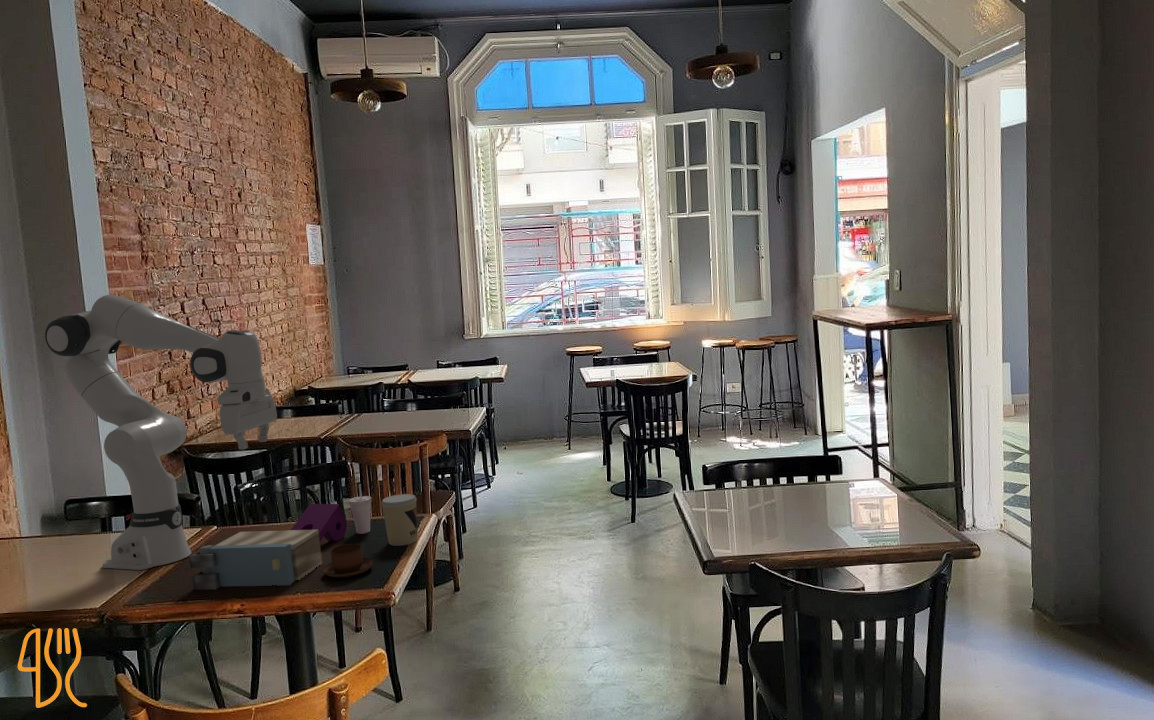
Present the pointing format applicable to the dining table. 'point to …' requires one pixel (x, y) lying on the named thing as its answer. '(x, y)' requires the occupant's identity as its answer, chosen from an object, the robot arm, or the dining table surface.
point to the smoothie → (361, 512)
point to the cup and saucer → (347, 561)
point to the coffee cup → (400, 519)
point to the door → (251, 564)
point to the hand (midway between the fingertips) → (253, 445)
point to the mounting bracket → (323, 521)
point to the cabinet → (301, 543)
